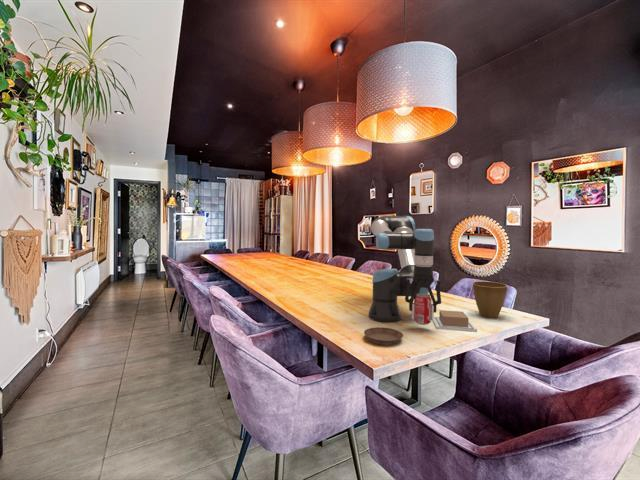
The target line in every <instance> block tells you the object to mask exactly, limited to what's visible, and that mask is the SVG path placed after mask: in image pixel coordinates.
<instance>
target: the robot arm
mask: <svg viewBox="0 0 640 480" xmlns="http://www.w3.org/2000/svg"><path fill="white" fill-rule="evenodd" d="M370 231H371V233H372V234H373V236H375V246H376V248H377V249H378V250H385V251H386V250H397V253H398V259H399V262H400V267H401V269H400V270H399V271H398V269H397V268H382V269H381V268H380V269H377V270H375V271H373V273H372V279H371V281H372V300H371V304H370V307H369V310H368V318H369V319H371V320H373V321H376V322H382V323H395V322H398V321H400V320H401V318H402V317H401V316H402V315H401V311H400V306H399V303H398V297H404V301H405V302H406V303H408V307H409V308H408V310H409V311H410V312H411V320H414V298H415V296H416V294H418V293H423V294H429V295H430V298H431V322H433V317H435V316H434V315H435V314H434V313H437V305H441V304H442V298H441V297H442V296H441V288H440V286H441V280H440V279H436V278H435V277H434V267H433V265H434V246H435V245H434V241H435V235H434V234H435V233H434V229H432V228H416V223H415V220H414V218H413V217H412V216H410V215H383V216H379V217H377V218H375V219H374V220H373V221H372V222H371V224H370ZM433 283H434V285H435V291H436V293H435V294H436V298H435V295H434V292H433V291H432V287H431V285H432V284H433Z"/></svg>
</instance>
